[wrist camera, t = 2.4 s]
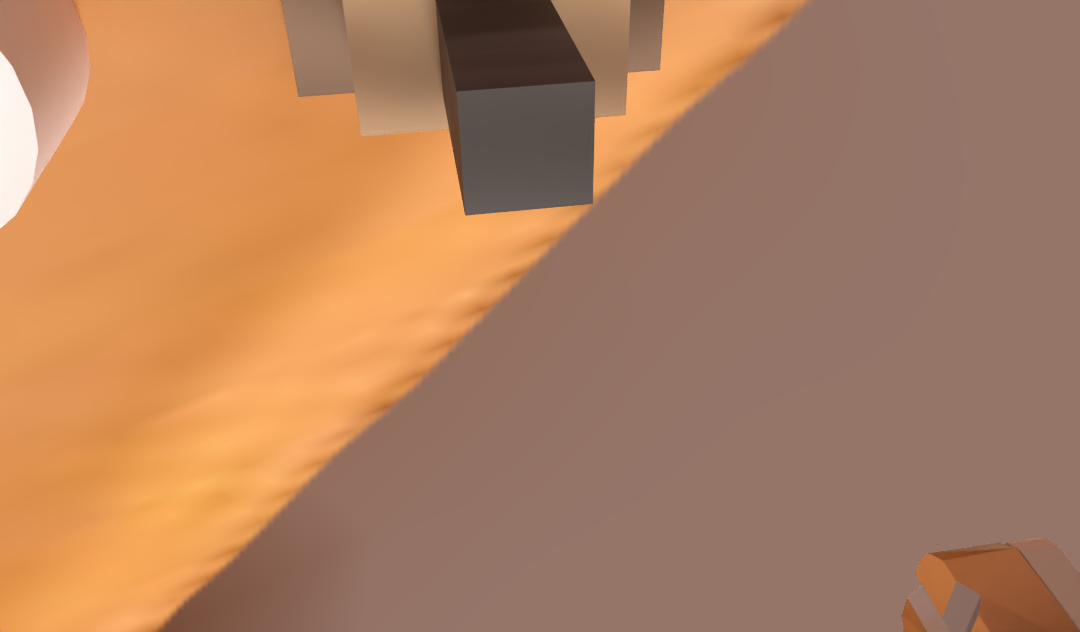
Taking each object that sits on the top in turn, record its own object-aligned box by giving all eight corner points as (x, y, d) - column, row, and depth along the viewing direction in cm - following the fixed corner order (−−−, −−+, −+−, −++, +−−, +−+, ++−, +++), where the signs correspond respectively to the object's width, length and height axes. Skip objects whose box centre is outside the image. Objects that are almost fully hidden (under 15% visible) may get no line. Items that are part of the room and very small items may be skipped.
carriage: (338, -59, 26) (329, 53, 18) (616, -74, 27) (712, 27, 19) (361, 109, 29) (361, 262, 21) (611, 90, 29) (692, 230, 22)
